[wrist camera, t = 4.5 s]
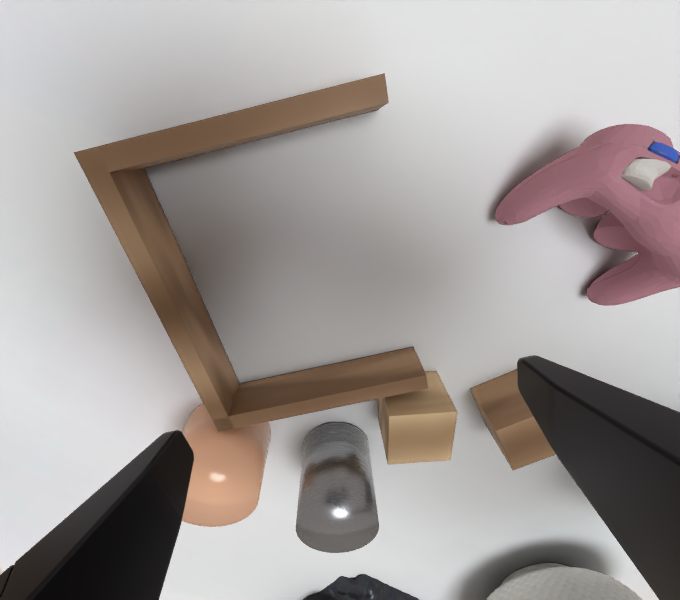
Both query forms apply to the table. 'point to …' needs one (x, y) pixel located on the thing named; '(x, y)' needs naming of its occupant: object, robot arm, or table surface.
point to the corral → (179, 287)
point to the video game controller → (615, 205)
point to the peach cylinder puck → (224, 470)
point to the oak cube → (418, 424)
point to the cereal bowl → (560, 585)
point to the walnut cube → (511, 421)
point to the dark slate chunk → (359, 590)
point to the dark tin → (336, 490)
